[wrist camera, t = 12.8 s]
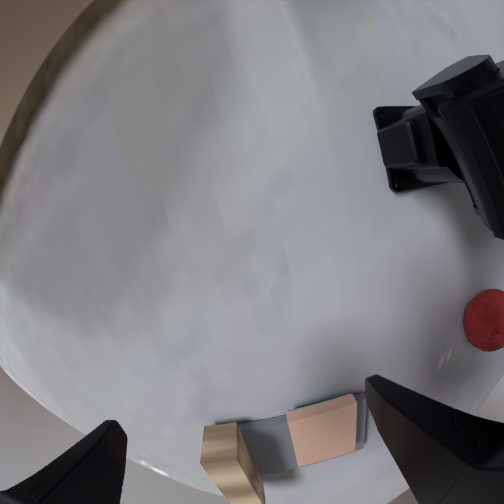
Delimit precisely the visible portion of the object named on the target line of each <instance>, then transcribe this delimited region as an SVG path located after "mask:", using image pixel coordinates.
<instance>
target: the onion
mask: <svg viewBox="0 0 504 504" xmlns="http://www.w3.org/2000/svg"><path fill="white" fill-rule="evenodd" d="M464 329H465V333H466V336H467V339H468V341H469V342H470V343H471V344H472V345H473V346H475V347H477V348H479V349H480V350H482V351H487V352H490V351H495V350H498V349H501V348H502V347H504V292H503V291H501V290H498V289H489V290H485V291H483V292H481V293H479V294H478V295H477V296H476V297H475V298H473V299H472V300H471V301H470V302H469V303H468V304H467V306H466V310H465V314H464Z"/></svg>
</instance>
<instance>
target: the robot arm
mask: <svg viewBox="0 0 504 504" xmlns="http://www.w3.org/2000/svg"><path fill="white" fill-rule="evenodd" d="M412 94H413V95H414V97H415V98H416V100H419V101H420V103H421V105H419V106H384V107H377V108H375V109H374V110H373V115H374V119H375V123H376V127H377V130H378V133H377V136H378V140H379V144H380V148H381V153H382V158H383V162H384V165H385V166H386V171H387V176H388V182H389V187H390V189H391V190H392V191H394V192H399V191H405V190H410V189H416V188H421V187H427V186H433V185H439V184H444V183H449V182H459V183H465V185H466V187H467V189H468V191H469V194H470V196H471V199H472V201H473V204H474V205H473V207H474V210H475V212H476V214H478V215H479V216H480V217H481V219H482V221H483V224H484V225H486V226H487V227H488V228H489V229H490V230H491V231H493V234H494V236H495V237H497V238H500V239H503V240H504V61H501V62H498V63H496V64H495V63H494V61H493V59H492V58H491V56H490V55H477V56H468V57H466V58H464V59H462V60H460V61H458V62H456V63H454V64H452V65H451V66H449V67H447V68H445V69H444V70H442V71H441V72H439V73H438V74H437V75H435V76H434V77H432V78H431V79H429V80H428V81H427V82H425V83H424V84H422V85H421V86H420V87H418V88H417V89H415V90H414V91H413V92H412ZM378 111H380V112H381V114H382V116H380V115H379V113H378ZM395 182H396V183H397V188H396V187H395ZM365 399H366V402H367V404H368V406H369V409H370V411H371V414H372V416H373V419H374V421H375V424H376V426H377V429H378V431H379V433H380V435H381V437H382V439H383V441H384V442H385V444H386V446H387V448H388V449H389V451H390V453H391V455H392V457H393V458H394V460H395V462H396V464H397V465H398V467H399V469H400V471H401V473H402V474H403V476H404V478H405V480H406V482H407V483H408V485H409V487H410V489H411V491H412V492H413V494H414V496H415V498H416V500H417V502H418V503H419V504H504V423H502V422H497V421H493V420H488V419H484V418H481V417H477V416H474V415H471V414H468V413H465V412H463V411H460V410H458V409H454V408H452V407H450V406H448V405H445V404H443V403H440V402H438V401H436V400H433V399H431V398H428V397H426V396H424V395H422V394H419V393H417V392H415V391H412V390H410V389H408V388H406V387H403V386H401V385H399V384H397V383H395V382H392V381H390V380H388V379H386V378H384V377H382V376H380V375H377V374H376V375H373V376H370V377H367V378H366V379H365ZM126 451H127V435H126V433H125V432H124V430H123V429H122V427H121V426H120V424H119V423H118V422H117V421H116V420H106V421H104V422H103V423H102V424H101V425H99V426H98V427H97V428H96V429H94V430H93V431H92V432H90V433H89V434H88V435H87V436H85V437H84V438H83V439H81V440H80V441H79V442H77V443H76V444H75V445H74V446H72V447H71V448H70V449H68V450H67V451H66V452H64V453H63V454H62V455H60V456H59V457H58V458H56V459H55V460H54V461H52V462H51V463H49V464H48V465H47V466H45V467H44V468H43V469H41V470H40V471H38V472H37V473H35V474H34V475H32V476H31V477H29V478H27V479H26V480H24V481H22V482H20V483H18V484H17V485H15V486H13V487H11V488H9V489H7V490H4V491H0V504H120V497H121V492H122V486H123V480H124V474H125V465H126Z"/></svg>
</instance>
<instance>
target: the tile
mask: <svg viewBox="0 0 504 504" xmlns="http://www.w3.org/2000/svg"><path fill="white" fill-rule="evenodd" d="M285 413H286V417H287V422H288V426H289V430H290V434H291V439H292V443H293V447H294V451H295V456H296V460H297V464H298V467H300V466H304V465H308V464H312V463H316V462H320V461H324V460H327V459H331V458H334V457H338V456H341V455H344V454H347V453H350V452H353V451H355V444H356V421H357V402H356V400H355V398H354V396H353V394H346V395H343V396H340V397H337V398H334V399H330V400H327V401H323V402H320V403H316V404H313V405H309V406H305V407H301V408H297V409H293V410H288V412H285Z"/></svg>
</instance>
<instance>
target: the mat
mask: <svg viewBox="0 0 504 504" xmlns="http://www.w3.org/2000/svg"><path fill="white" fill-rule="evenodd" d="M353 396H354V398H355V400H356V402H357V421H356V444H355V451H357V450H360V449H363V448H364V437H365V421H366V399H365V395H364V394H363V392H362V393H359V394H356V395H353ZM237 425H238V427H239V429H240V432H241V434H242V436H243V439H244V441H245V443H246V445H247V448H248V450H249V452H250V454H251V456H252V459H253V461H254V463H255V465H256V467H257V469H258V471H259V473H260V475H262V474H268V473H274V472H279V471H284V470H289V469H294V468H298V464H297V460H296V456H295V451H294V447H293V443H292V439H291V434H290V430H289V426H288V422H287V417H286V415H282V416H278V417H273V418H268V419H263V420H258V421H252V422H246V423H240V424H237ZM353 452H354V451H353ZM350 453H351V452H350ZM347 454H348V453H347ZM344 455H345V454H344ZM341 456H342V455H341ZM338 457H339V456H338ZM334 458H336V457H334ZM331 459H332V458H331ZM327 460H329V459H327ZM324 461H326V460H324ZM320 462H322V461H320ZM316 463H318V462H316ZM312 464H315V463H312ZM308 465H311V464H308ZM304 466H307V465H304ZM300 467H303V466H300Z"/></svg>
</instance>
